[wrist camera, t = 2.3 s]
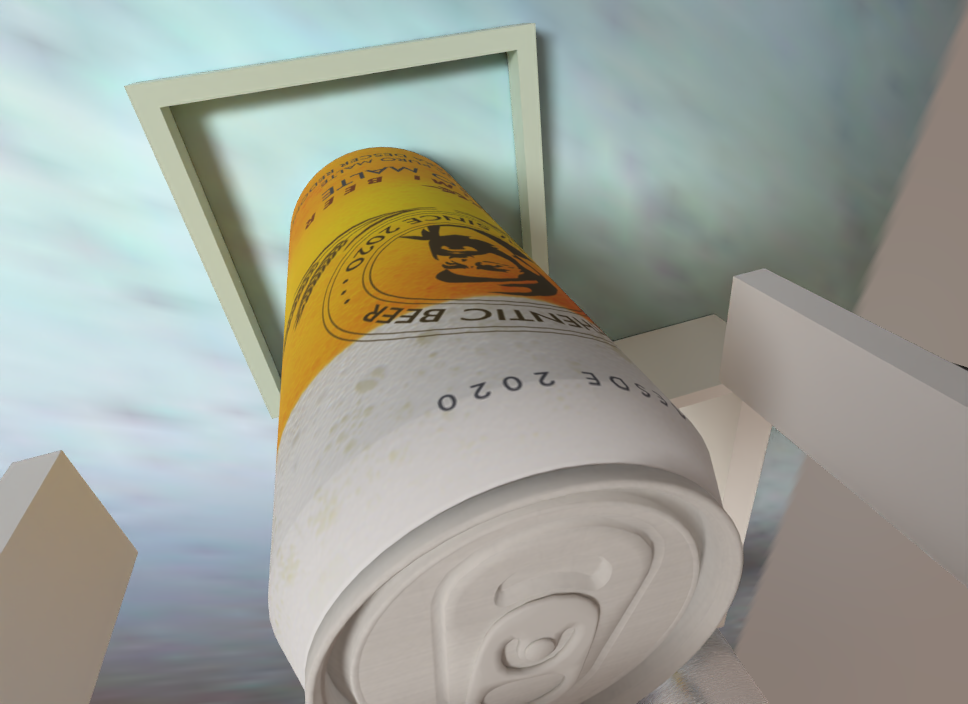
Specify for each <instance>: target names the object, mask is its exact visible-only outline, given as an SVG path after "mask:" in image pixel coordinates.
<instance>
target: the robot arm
mask: <svg viewBox="0 0 968 704" xmlns="http://www.w3.org/2000/svg"><path fill="white" fill-rule="evenodd" d="M719 381H720V382H721V383H722V384H723V385H724V386H726V387H727V388H728V389H729V390H730V391H732V392H733V393H734V394H735V395H736V396H738V397H739V398H740V399H741V400H742V401H744V402H745V403H746V404H747V405H748V406H750V407H751V408H752V409H753V410H754V411H756V412H757V413H758V414H759V415H760V416H762V417H763V418H764V419H765V420H766V421H768V422H769V423H770V424H771V425H772V426H774V427H775V428H776V429H777V430H778V431H780V432H781V433H782V434H783V435H784V436H786V437H787V438H788V439H789V440H790V441H792V442H793V443H794V444H795V445H796V446H798V447H799V448H800V449H801V450H802V451H804V452H805V453H806V454H807V455H808V456H810V457H811V458H812V459H813V460H814V461H816V462H817V463H818V464H819V465H820V466H822V467H823V468H824V469H825V470H827V471H828V472H829V473H830V474H831V475H832V476H834V477H835V478H836V479H837V480H838V481H840V482H841V483H842V484H843V485H845V486H846V487H847V488H848V489H849V490H850V491H852V492H853V493H854V494H855V495H857V496H858V497H859V498H860V499H861V500H862V501H864V502H865V503H866V504H867V505H869V506H870V507H871V508H872V509H873V510H874V511H876V512H877V513H878V514H879V515H881V516H882V517H883V518H884V519H885V520H887V521H888V522H889V523H890V524H891V525H892V526H894V527H895V528H896V529H897V530H899V531H900V532H901V533H902V534H903V535H905V536H906V537H907V538H908V539H909V540H911V541H912V542H913V543H914V544H915V545H916V546H918V547H919V548H920V549H921V550H922V551H924V552H925V553H926V554H927V555H928V556H930V557H931V558H932V559H933V560H934V561H936V562H937V563H938V564H939V565H940V566H942V567H943V568H945V570H946V571H948V572H949V573H950V574H951V575H953V576H954V577H955V578H956V579H957V580H959V581H960V582H961V583H962V584H963V585H965V586H966V587H967V588H968V368H967V367H964V366H961V365H957V364H954V363H951V362H949V361H947V360H945V359H943V358H941V357H939V356H937V355H935V354H933V353H931V352H929V351H927V350H925V349H923V348H921V347H919V346H917V345H915V344H913V343H911V342H909V341H907V340H906V339H904V338H902V337H900V336H898V335H896V334H894V333H892V332H890V331H888V330H886V329H884V328H882V327H880V326H878V325H876V324H874V323H872V322H870V321H868V320H866V319H864V318H862V317H860V316H858V315H856V314H854V313H852V312H850V311H848V310H846V309H844V308H842V307H840V306H838V305H836V304H834V303H832V302H830V301H828V300H826V299H824V298H822V297H820V296H818V295H817V294H815V293H813V292H811V291H809V290H807V289H805V288H803V287H801V286H799V285H797V284H795V283H793V282H791V281H789V280H787V279H785V278H783V277H781V276H779V275H777V274H775V273H773V272H771V271H769V270H767V269H765V268H763V269H759V270H756V271H752V272H748V273H744V274H740V275H736V276H733V283H732V290H731V297H730V304H729V311H728V318H727V325H726V332H725V339H724V346H723V353H722V360H721V367H720V374H719ZM137 554H138V552H137V550H136V549H135V548H134V546H133V545H132V544H131V542H130V541H129V540H128V538H127V537H126V535H125V534H124V533H123V531H122V530H121V529H120V527H119V526H118V525H117V523H116V522H115V521H114V519H113V518H112V517H111V515H110V514H109V513H108V511H107V510H106V509H105V507H104V506H103V505H102V503H101V502H100V501H99V499H98V498H97V497H96V495H95V494H94V493H93V491H92V490H91V489H90V487H89V486H88V485H87V483H86V482H85V481H84V479H83V478H82V477H81V475H80V474H79V473H78V471H77V470H76V469H75V467H74V466H73V465H72V463H71V462H70V460H69V459H68V458H67V456H66V455H65V454H64V452H63V451H62V450H60V451H56V452H52V453H48V454H44V455H41V456H37V457H33V458H29V459H25V460H21V461H17V462H13V463H12V464H11V465H10V467H9V468H8V469H7V471H6V472H5V474H4V475H3V477H2V478H1V480H0V704H89V702H90V699H91V696H92V693H93V690H94V687H95V684H96V681H97V678H98V675H99V671H100V668H101V665H102V662H103V659H104V656H105V653H106V650H107V647H108V644H109V641H110V637H111V634H112V631H113V628H114V625H115V622H116V619H117V616H118V613H119V610H120V607H121V603H122V600H123V597H124V594H125V591H126V588H127V585H128V582H129V579H130V576H131V573H132V569H133V566H134V563H135V560H136V557H137Z"/></svg>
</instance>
